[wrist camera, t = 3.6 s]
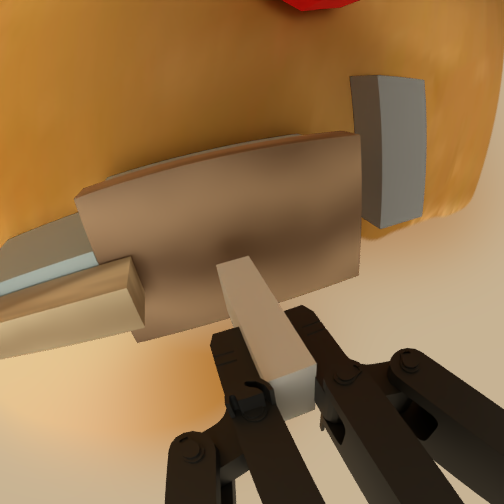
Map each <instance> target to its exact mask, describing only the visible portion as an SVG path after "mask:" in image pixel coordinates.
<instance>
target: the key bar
mask: <svg viewBox="0 0 504 504" xmlns="http://www.w3.org/2000/svg"><path fill="white" fill-rule="evenodd" d="M141 328H145V291H144V289H143V286H142V284H141V281H140V279H139V276H138V274H137V271H136V269H135V266H134V264H133V261H132V258H131V256H130V257H126V258H123V259H119V260H116V261H113V262H109V263H106V264H102V265H99V266H96V267H92V268H89V269H86V270H83V271H79V272H76V273H73V274H70V275H66V276H63V277H60V278H57V279H53V280H50V281H47V282H44V283H41V284H38V285H35V286H32V287H28V288H25V289H22V290H19V291H16V292H13V293H10V294H7V295H4V296H1V297H0V359H5V358H10V357H16V356H21V355H26V354H31V353H36V352H41V351H46V350H51V349H55V348H60V347H65V346H69V345H74V344H78V343H83V342H87V341H92V340H95V339H100V338H104V337H108V336H113V335H117V334H121V333H125V332H129V331H133V330H137V329H141Z"/></svg>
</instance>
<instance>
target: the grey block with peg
mask: <svg viewBox="0 0 504 504" xmlns="http://www.w3.org/2000/svg"><path fill="white" fill-rule="evenodd" d="M96 266H99V264H98V261H97V259H96V257H95V254H94V252H93V249H92V247H91V244H90V242H89V239H88V237H87V234H86V232H85V229H84V226H83V224H82V221H81V218H80V215H79V212H78V213H75V214H73V215H70V216H67V217H64V218H62V219H59V220H56V221H53V222H51V223H48V224H46V225H43V226H40V227H38V228H35V229H33V230H30V231H28V232H25V233H23V234H20V235H18V236H16V237H13V238H11V239H9V240H7V241H6V243H5V244H4V245H3V246H2V247H1V248H0V297H1V296H4V295H7V294H10V293H13V292H16V291H19V290H22V289H25V288H28V287H32V286H35V285H38V284H41V283H44V282H47V281H50V280H53V279H57V278H60V277H63V276H66V275H70V274H73V273H76V272H79V271H83V270H86V269H89V268H92V267H96Z"/></svg>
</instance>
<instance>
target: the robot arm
mask: <svg viewBox="0 0 504 504" xmlns="http://www.w3.org/2000/svg"><path fill="white" fill-rule="evenodd" d="M216 267H217V271H218V275H219V279H220V283H221V287H222V291H223V295H224V299H225V303H226V307H227V311H228V314H229V316H230V319H231V321H232V324H233V326H234V328H232V329H229V330H226V331H223V332H219V333H215V334H213V336H212V340H211V344H210V347H211V351H212V354H213V357H214V361H215V364H216V367H217V371H218V374H219V378H220V381H221V384H222V388H223V391H224V394H225V405H226V408H227V409H226V412H225V414H224V416H223V418H222V419H221V420H220V421H219V422H218V423H217V424H215V425H214V426H212V427H211V428H209V429H207V430H206V431H204V432H203V433H201V432H195V431H191V432H186V433H183V434H181V435H179V436H178V437H176V438H175V439H174V441H173V442H172V443H171V445H170V448H169V453H168V464H167V478H166V492H165V504H236V490H235V479H236V478H238V477H239V476H241V475H242V474H244V473H245V472H247V471H248V470H250V473H251V475H252V478H253V481H254V483H255V486H256V488H257V491H258V493H259V496H260V498H261V501H262V503H263V504H325V502H324V500H323V498H322V496H321V494H320V492H319V490H318V488H317V486H316V485H315V482H314V481H313V479H312V477H311V475H310V473H309V471H308V469H307V467H306V465H305V463H304V461H303V459H302V457H301V454H300V452H299V450H298V448H297V446H296V445H295V442H294V440H293V438H292V436H291V434H290V432H289V430H288V428H287V426H286V424H285V421H286V420H289V419H291V418H294V417H297V416H299V415H302V414H305V413H307V412H310V411H312V410H314V409H315V403H316V404H317V406H318V408H319V409H320V411H321V419H320V428H321V431H323V430H324V428H326V430H327V432H328V433H329V435H330V437H331V439H332V441H333V442H334V444H335V446H336V448H337V450H338V451H339V453H340V455H341V457H342V458H343V460H344V462H345V464H346V465H347V467H348V469H349V470H350V472H351V474H352V476H353V477H354V479H355V481H356V483H357V484H358V486H359V488H360V489H361V491H362V493H363V494H364V496H365V498H366V500H367V501H368V503H369V504H464V503H463V501H462V500H461V499H460V497H459V496H458V494H457V493H456V491H455V490H454V489H453V487H452V486H451V484H450V483H449V481H448V480H447V479H446V477H445V476H444V474H443V473H442V472H441V470H440V469H439V468H438V466H437V465H436V463H435V462H437V463H438V464H439V465H441V466H442V467H443V468H444V469H446V470H447V471H448V472H449V473H451V474H452V475H453V476H455V477H456V478H457V479H458V480H460V481H461V482H462V483H464V484H465V485H466V486H468V487H469V488H470V489H471V490H473V491H474V492H475V493H477V494H478V495H479V496H481V497H482V498H484V499H485V500H486V501H488V502H489V503H490V504H504V409H502V408H501V407H500V406H498V405H497V404H496V403H494V402H493V401H491V400H490V399H488V398H487V397H485V396H484V395H483V394H481V393H480V392H478V391H477V390H476V389H474V388H473V387H471V386H470V385H468V384H467V383H466V382H464V381H463V380H461V379H460V378H458V377H457V376H455V375H454V374H453V373H451V372H449V371H448V370H447V369H445V368H444V367H442V366H441V365H440V364H438V363H437V362H435V361H434V360H432V359H431V358H429V357H428V356H426V355H425V354H424V353H422V352H420V351H418V350H416V349H410V348H406V349H401V350H399V351H397V352H396V353H395V354H394V355H393V356H392V358H391V360H390V361H388V362H383V363H377V364H369V365H365V364H360V363H359V362H356V361H354V360H351V359H349V358H348V357H347V356H346V355H345V353H344V352H343V351H342V349H341V348H340V347H339V345H338V344H337V343H336V341H335V340H334V339H333V337H332V336H331V335H330V333H329V332H328V330H327V329H325V327H324V325H323V324H322V322H320V320H319V318H318V317H317V316H316V314H315V313H314V312H313V311H312V310H310V309H308V308H307V307H305V306H303V305H300V306H298V307H295V308H292V309H289V310H286V311H283V310H282V308H281V307H280V305H279V303H278V302H277V300H276V298H275V297H274V295H273V294H272V292H271V290H270V289H269V287H268V286H267V284H266V283H265V281H264V279H263V278H262V276H261V275H260V273H259V271H258V270H257V268H256V267H255V265H254V263H253V262H252V260H251V259H250V257H249V256H246V257H242V258H239V259H235V260H232V261H228V262H224V263H221V264H217V265H216ZM434 461H435V462H434Z"/></svg>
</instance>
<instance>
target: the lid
mask: <svg viewBox="0 0 504 504" xmlns="http://www.w3.org/2000/svg"><path fill="white" fill-rule="evenodd" d="M74 201H75V204H76V207H77V210H78V212H79V215H80V218H81V221H82V224H83V226H84V229H85V232H86V234H87V237H88V239H89V242H90V244H91V247H92V249H93V252H94V254H95V257H96V259H97V261H98V264H99V265H102V264H106V263H109V262H113V261H116V260H119V259H123V258H126V257H130V256H131V258H132V261H133V264H134V266H135V269H136V271H137V274H138V276H139V279H140V281H141V284H142V286H143V289H144V291H145V328H141V329H137V330H133V331H131V332H132V334H133V336H134V338H135V340H136V341H137V343H139V342H143V341H147V340H151V339H155V338H159V337H162V336H167V335H171V334H174V333H178V332H182V331H185V330H189V329H193V328H196V327H200V326H203V325H207V324H211V323H214V322H218V321H221V320H225V319H228V318H230V316H229V314H228V311H227V307H226V303H225V299H224V295H223V291H222V287H221V283H220V279H219V275H218V271H217V267H216V265H217V264H221V263H224V262H228V261H232V260H235V259H239V258H242V257H246V256H249V257H250V259H251V260H252V262H253V263H254V265H255V267H256V268H257V270H258V271H259V273H260V275H261V276H262V278H263V279H264V281H265V283H266V284H267V286H268V287H269V289H270V290H271V292H272V294H273V295H274V297H275V298H276V300H277V302H278V303H280V302H283V301H286V300H289V299H292V298H295V297H298V296H301V295H304V294H307V293H310V292H313V291H316V290H319V289H321V288H325V287H328V286H330V285H333V284H336V283H339V282H342V281H345V280H347V279H350V278H353V277H356V276H358V275H359V262H360V243H361V213H362V171H361V141H360V135H359V134H354V133H350V132H345V131H335V132H326V133H318V134H310V135H302V136H295V137H289V138H282V139H276V140H270V141H264V142H258V143H253V144H247V145H242V146H237V147H232V148H227V149H222V150H218V151H213V152H209V153H204V154H200V155H196V156H191V157H187V158H183V159H179V160H175V161H171V162H168V163H164V164H160V165H156V166H153V167H149V168H146V169H142V170H139V171H135V172H132V173H129V174H126V175H122V176H119V177H116V178H113V179H110V180H107V181H104V182H101V183H98V184H95V185H92V186H89V187H86V188H83V189H82V190H81V191H80V193H79V194H78V195H77V196H76V197H75V198H74Z"/></svg>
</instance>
